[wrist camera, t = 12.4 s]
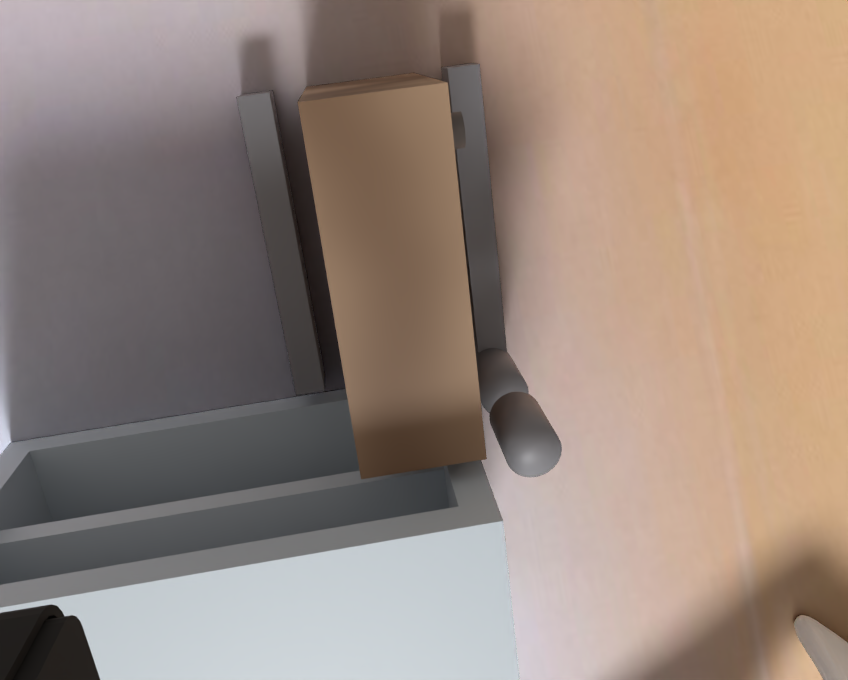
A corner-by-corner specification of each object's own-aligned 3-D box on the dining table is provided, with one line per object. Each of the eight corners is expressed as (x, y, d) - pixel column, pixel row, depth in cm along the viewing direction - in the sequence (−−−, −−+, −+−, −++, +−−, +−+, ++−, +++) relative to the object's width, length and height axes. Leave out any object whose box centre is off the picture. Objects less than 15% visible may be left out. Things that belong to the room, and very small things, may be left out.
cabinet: (477, 62, 26) (560, 69, 17) (525, 562, 33) (602, 765, 24) (-95, 140, 25) (-350, 194, 16) (79, 641, 32) (-24, 886, 23)
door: (435, 69, 26) (479, 78, 19) (466, 352, 30) (513, 454, 22) (306, 86, 26) (297, 102, 18) (352, 369, 29) (361, 479, 22)
